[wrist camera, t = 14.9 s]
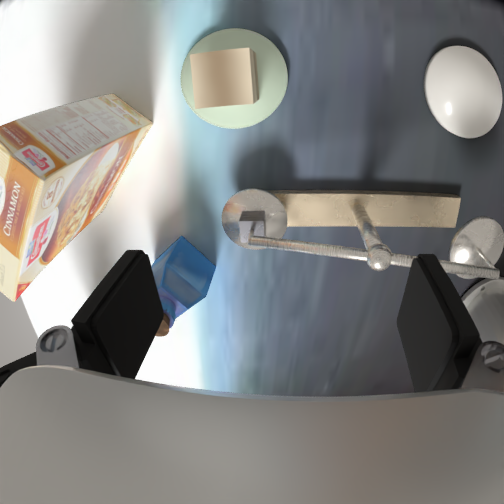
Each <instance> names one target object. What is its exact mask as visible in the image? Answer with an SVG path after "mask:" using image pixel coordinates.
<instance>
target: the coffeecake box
mask: <svg viewBox="0 0 504 504" xmlns="http://www.w3.org/2000/svg"><path fill="white" fill-rule="evenodd" d="M152 125H153V122H151V121H150V120H149V119H147V118H146V117H145V116H143V115H142V114H140V113H139V112H137V111H136V110H134V109H133V108H132V107H131V106H129V105H128V104H127V103H125V102H124V101H123V100H121V99H120V98H118V97H117V96H116V95H114V94H108V95H103V96H99V97H94V98H90V99H86V100H81V101H78V102H74V103H70V104H66V105H62V106H59V107H55V108H52V109H48V110H45V111H42V112H39V113H35V114H32V115H29V116H26V117H23V118H20V119H17V120H15V121H12V122H10V123H7V124H4V125H2V126H0V291H1V292H2V293H3V294H5V296H7V297H8V298H9V299H10V300H12V301H13V302H15V301H16V300H17V298H18V297H19V296H20V295H21V294H22V293H23V291H24V290H25V289H26V288H27V287H28V286H29V284H30V283H31V282H32V281H33V280H34V279H35V278H36V277H37V276H38V274H39V273H40V272H41V271H42V270H43V269H44V268H45V267H46V266H47V265H48V264H49V263H50V262H51V261H52V260H53V259H54V257H55V256H56V255H57V254H58V253H59V252H60V251H61V250H62V249H63V248H64V247H65V246H66V245H67V244H68V243H69V242H70V241H71V240H72V239H73V238H74V237H75V236H76V235H77V234H78V233H79V232H81V231H82V230H83V229H84V228H85V227H86V226H87V225H88V224H89V223H90V222H91V221H92V220H93V219H94V218H95V217H97V216H98V215H99V214H100V213H102V212H103V210H104V208H105V206H106V204H107V202H108V201H109V199H110V197H111V195H112V193H113V191H114V189H115V187H116V186H117V184H118V182H119V180H120V178H121V177H122V175H123V173H124V171H125V170H126V168H127V166H128V164H129V162H130V161H131V159H132V157H133V156H134V154H135V152H136V151H137V149H138V147H139V146H140V144H141V142H142V141H143V139H144V137H145V136H146V134H147V133H148V131H149V129H150V128H151V126H152Z"/></svg>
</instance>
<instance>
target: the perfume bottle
mask: <svg viewBox="0 0 504 504" xmlns="http://www.w3.org/2000/svg"><path fill="white" fill-rule="evenodd" d="M151 268H152V271H153V275H154V279H155V283H156V286H157V290H158V293H159V297H160V300H161V304H162V307H163V311H164V317H163V320H162V323H161V325H160V327H159V329H158V331H157V333H156V335H155V336H165V335H167V334H168V332H169V328H171V327H172V326H173V324H174V321H175V319H176V318H177V317H178V316H180V315H181V314H182V313H184V312H185V311H187V310H188V309H189V308H191V307H192V306H194V305H195V304H196V303H198V302H199V301H201V300H202V299H203V298H205V297H206V295H207V292H208V289H209V286H210V283H211V280H212V277H213V274H214V271H215V269H216V266H215V265H213V264H212V263H211V262H210V261H209V260H208V259H207V258H206V257H205V256H204V255H202V254H201V253H200V252H199V251H198V250H197V249H196V248H195V247H194V246H193V245H191V244H190V243H189V242H188V241H187V240H186V239H185V238H184V237H183V236H181V237H180V238H179V239H178V240H176V241H175V242H174V243H173V244H172V245H171V246H170V247H169V248H168V249H167V250H166V251H165V252H164V253H163V254H162V255H161V256H160V257H159V258H158V259H156V260H155V262H154V263H153V265H152V266H151Z"/></svg>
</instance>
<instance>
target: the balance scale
mask: <svg viewBox="0 0 504 504" xmlns="http://www.w3.org/2000/svg"><path fill="white" fill-rule="evenodd" d="M460 201H461V198H460V197H459V196H458V195H457V194H441V193H424V192H402V191H370V190H269V191H266V190H263V189H258V188H250V189H244V190H241V191H239V192H237V193H235V194H234V195H233V196H232V197H231V198H230V199H229V200H228V201H227V203H226V204H225V207H224V209H223V212H222V225H223V228H224V231H225V233H226V234H227V236H228V237H229V238H230V239H231V240H232V241H233V242H235V243H236V244H238V245H239V246H242V247H244V248H247V249H255V250H258V249H265V248H271V249H279V250H286V251H294V252H301V253H309V254H316V255H324V256H331V257H339V258H346V259H353V260H361V261H366V262H367V264H368V266H369V267H370V268H371V269H373V270H375V271H383V270H385V269H387V268H388V267H389V266H390V265H397V266H404V267H411V264H412V260H413V259H414V258H417V257H416V256H409V255H402V254H394V253H391V250H390V249H389V248H388V247H387V246H386V245H384V244H382V242H381V239H380V237H379V235H378V233H377V231H376V229H375V227H374V226H404V227H455V225H456V221H457V216H458V211H459V206H460ZM287 226H358V229H359V231H360V234H361V236H362V239H363V242H364V244H365V247H366V249H367V250H365V249H357V248H350V247H342V246H335V245H327V244H319V243H311V242H303V241H295V240H287V239H281V238H282V237H283V235H284V233H285V231H286V229H287ZM503 246H504V233H503V230H502V228H501V226H500V225H499V224H498V223H497V222H496V221H495V220H494V219H492V218H490V217H487V216H480V217H476V218H473V219H471V220H470V221H468V222H467V223H465V224H464V225H463V226H462V227H461V228H460V229H459V230H458V231H457V233H456V234H455V236H454V238H453V240H452V242H451V245H450V248H449V261H444V260H439V262H440V264H441V265H442V267H443V269H444V270H445V272H447V273H454V274H457V275H458V276H459V277H461V278H465V279H473V278H477V277H482V278H489V279H496V280H497V279H498V278H499V274H500V271H499V269H497V268H495V267H494V265H495V263H496V262H497V261H498V259H499V257H500V255H501V253H502V250H503Z"/></svg>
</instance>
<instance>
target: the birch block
mask: <svg viewBox="0 0 504 504" xmlns="http://www.w3.org/2000/svg"><path fill="white" fill-rule="evenodd" d="M190 63H191V73H192V83H193V93H194V102H195V109H200V108H209V107H220V106H231V105H245V104H254V103H255V102H257V101H258V100H259V87H258V74H257V60H256V53H255V52H254V51H253V50H252V49H250V48H238V49H228V50H219V51H211V52H204V53H197V54H190Z"/></svg>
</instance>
